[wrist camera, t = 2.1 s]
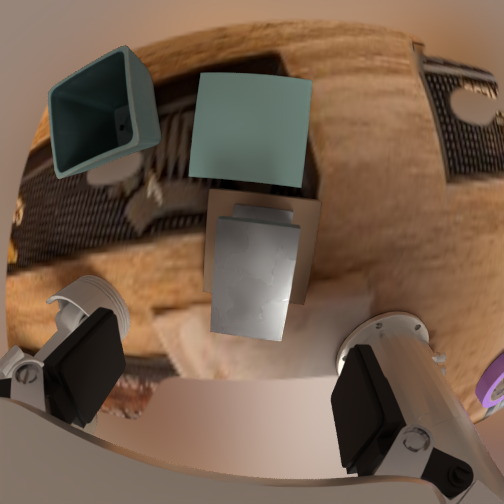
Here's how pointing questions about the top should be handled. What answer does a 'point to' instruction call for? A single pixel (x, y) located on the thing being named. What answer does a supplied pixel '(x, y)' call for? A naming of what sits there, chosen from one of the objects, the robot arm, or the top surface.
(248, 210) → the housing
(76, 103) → the flower pot
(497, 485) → the robot arm
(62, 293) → the engine component
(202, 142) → the stand
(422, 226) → the top surface
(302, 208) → the stand
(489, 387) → the masking tape
